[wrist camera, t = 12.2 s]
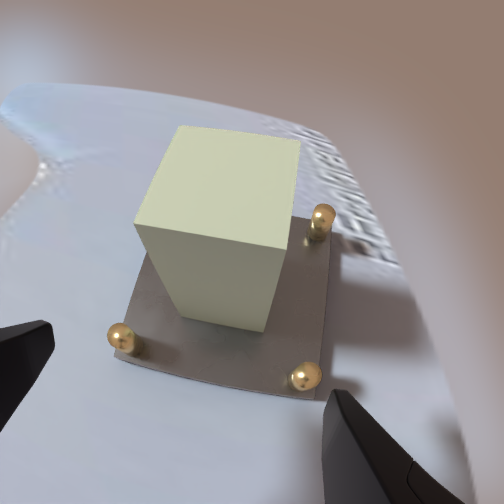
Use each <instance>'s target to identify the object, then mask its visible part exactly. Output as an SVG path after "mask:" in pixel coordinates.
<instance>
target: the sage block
mask: <svg viewBox="0 0 504 504" xmlns="http://www.w3.org/2000/svg"><path fill="white" fill-rule="evenodd" d="M300 144H301V141H297V140H291V139H285V138H279V137H273V136H267V135H260V134H253V133H246V132H239V131H231V130H222V129H214V128H204V127H194V126H182V125H180V126H179V128H178V130H177V131H176V133H175V135H174V137H173V139H172V141H171V143H170V145H169V147H168V149H167V151H166V153H165V155H164V157H163V159H162V161H161V163H160V165H159V167H158V169H157V171H156V174H155V176H154V178H153V180H152V182H151V184H150V186H149V189H148V191H147V193H146V195H145V197H144V200H143V202H142V204H141V206H140V209H139V211H138V213H137V216H136V218H135V220H134V223H133V224H134V226H135V228H136V230H137V232H138V234H139V236H140V238H141V241H142V243H143V245H144V247H145V249H146V251H147V253H148V255H149V257H150V259H151V261H152V263H153V265H154V267H155V269H156V271H157V273H158V275H159V277H160V279H161V280H162V282H163V284H164V286H165V288H166V290H167V292H168V294H169V296H170V298H171V299H172V301H173V303H174V305H175V307H176V309H177V310H178V312H179V314H180V316H181V317H186V318H191V319H195V320H200V321H205V322H210V323H214V324H219V325H225V326H230V327H235V328H240V329H246V330H251V331H257V332H262V333H263V332H264V328H265V325H266V322H267V318H268V315H269V311H270V308H271V304H272V301H273V297H274V294H275V290H276V286H277V283H278V279H279V276H280V272H281V268H282V265H283V261H284V257H285V254H286V250H287V243H288V236H289V229H290V222H291V215H292V207H293V200H294V192H295V184H296V177H297V169H298V160H299V152H300Z"/></svg>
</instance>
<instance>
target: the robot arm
mask: <svg viewBox="0 0 504 504" xmlns="http://www.w3.org/2000/svg"><path fill="white" fill-rule="evenodd" d="M54 348H55V341H54V335H53V328H52V325H51V324H50V323H49V322H46V321H44V320H37V321H33V322H28V323H23V324H19V325H14V326H10V327H5V328H0V432H1V431H2V429H3V428H4V426H5V425H6V423H7V422H8V420H9V419H10V417H11V416H12V414H13V413H14V411H15V410H16V408H17V407H18V406H19V404H20V403H21V401H22V400H23V398H24V397H25V396H26V394H27V393H28V391H29V390H30V389H31V387H32V386H33V384H34V383H35V381H36V380H37V378H38V376H39V375H40V373H41V371H42V369H43V368H44V366H45V364H46V363H47V361H48V359H49V358H50V356H51V354H52V353H53V351H54ZM322 470H323V482H324V496H325V504H465V503H463V502H462V501H461V500H460V499H458V498H457V497H456V496H454V495H453V494H452V493H451V492H449V491H448V490H447V489H445V488H444V487H443V486H442V485H441V484H439V483H438V482H437V481H436V480H435V479H434V478H432V477H431V476H430V475H429V474H428V473H427V472H426V471H425V470H424V469H423V468H422V467H421V466H420V465H419V464H418V463H417V462H416V461H413V458H412V457H411V456H410V455H409V454H408V453H407V452H406V451H405V450H404V449H403V448H402V447H401V446H400V445H399V444H398V443H397V442H396V441H395V440H394V439H393V438H392V437H391V436H390V435H389V434H388V433H387V432H386V431H385V430H384V429H383V427H382V426H381V425H380V424H379V423H378V422H377V421H376V420H375V419H374V418H373V417H372V416H371V415H370V414H369V413H368V412H367V411H366V410H365V409H364V408H363V407H362V406H361V405H360V404H359V402H358V401H357V400H356V399H355V398H354V397H353V396H352V395H351V394H350V393H349V392H348V391H347V390H341V389H334V390H332V392H331V394H330V396H329V399H328V402H327V404H326V407H325V409H324V414H323V438H322Z"/></svg>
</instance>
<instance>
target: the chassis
mask: <svg viewBox="0 0 504 504" xmlns="http://www.w3.org/2000/svg"><path fill="white" fill-rule="evenodd" d="M335 216H336V213H335V210H334V209H333V208H332V207H331V206H330V205H328V204H319V205H317V206H316V207H315V209H314V212H313V215H312V218H311V219H305V218H300V217H294V216H291V222H290V229H289V236H288V243H287V250H286V254H285V257H284V261H283V265H282V268H281V272H280V276H279V279H278V283H277V286H276V290H275V294H274V297H273V301H272V304H271V308H270V311H269V315H268V318H267V322H266V325H265V328H264V332H263V333H262V332H257V331H251V330H246V329H240V328H235V327H230V326H225V325H219V324H214V323H210V322H205V321H200V320H195V319H191V318H186V317H181V316H180V314H179V312H178V310H177V309H176V307H175V305H174V303H173V301H172V299H171V298H170V296H169V294H168V292H167V290H166V288H165V286H164V284H163V282H162V280H161V279H160V277H159V275H158V273H157V271H156V269H155V267H154V265H153V263H152V261H151V259H150V257H149V255H148V253H146V256H145V258H144V261H143V264H142V267H141V270H140V273H139V276H138V279H137V282H136V285H135V288H134V291H133V294H132V297H131V300H130V303H129V306H128V309H127V312H126V316H125V319H124V322H123V323H116V324H114V325H112V326H111V327H110V329H109V330H108V334H107V338H108V341H109V343H110V344H111V345H112V346H113V347H115V348H116V350H115V353H114V357H116V358H118V359H120V360H123V361H126V362H130V363H133V364H136V365H140V366H143V367H147V368H150V369H154V370H158V371H161V372H165V373H169V374H173V375H177V376H181V377H185V378H189V379H194V380H198V381H202V382H207V383H212V384H216V385H221V386H226V387H231V388H237V389H242V390H247V391H253V392H259V393H265V394H272V395H278V396H285V397H292V398H300V399H308V400H312V399H314V398H315V391H316V386H317V385H318V384H319V383H320V381H321V379H322V371H321V369H320V367H319V362H320V354H321V346H322V337H323V328H324V319H325V309H326V298H327V287H328V275H329V261H330V246H331V229H332V223H333V221H334V219H335Z"/></svg>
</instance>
